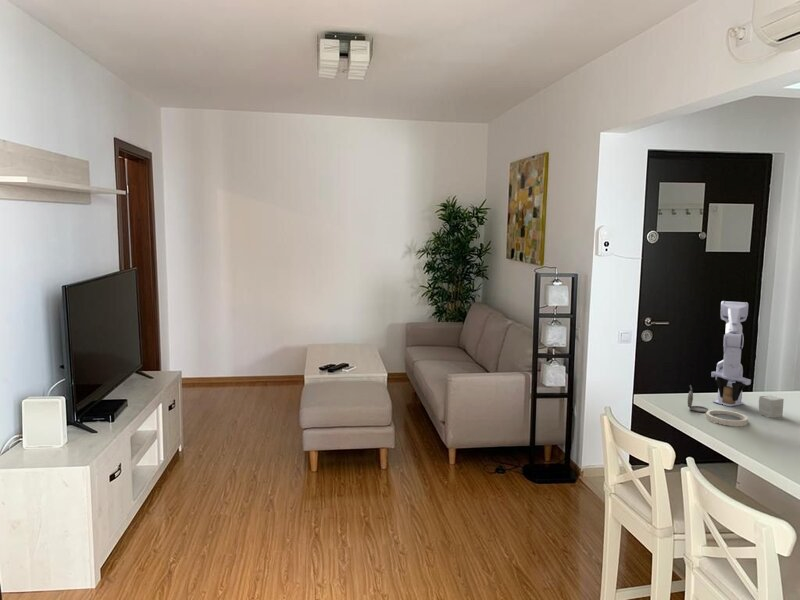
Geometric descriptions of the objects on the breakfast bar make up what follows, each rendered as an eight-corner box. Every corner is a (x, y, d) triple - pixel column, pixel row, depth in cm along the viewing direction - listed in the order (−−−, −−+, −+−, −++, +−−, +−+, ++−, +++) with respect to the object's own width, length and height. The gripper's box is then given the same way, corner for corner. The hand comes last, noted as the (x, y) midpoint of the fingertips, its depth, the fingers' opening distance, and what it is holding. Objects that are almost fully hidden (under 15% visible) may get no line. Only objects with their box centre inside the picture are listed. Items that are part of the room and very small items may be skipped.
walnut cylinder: (726, 400, 229) (728, 385, 229) (737, 403, 225) (739, 388, 225) (719, 401, 227) (721, 386, 227) (730, 404, 223) (732, 389, 223)
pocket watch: (711, 413, 236) (713, 389, 235) (690, 412, 236) (692, 388, 235) (701, 407, 244) (703, 383, 243) (681, 406, 244) (682, 383, 243)
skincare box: (782, 417, 232) (784, 398, 231) (770, 418, 230) (772, 400, 229) (769, 412, 238) (770, 394, 237) (757, 413, 236) (758, 395, 235)
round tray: (720, 412, 236) (720, 407, 236) (755, 422, 224) (755, 417, 224) (698, 417, 230) (698, 412, 230) (732, 428, 218) (733, 423, 217)
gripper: (707, 361, 229) (704, 395, 231) (743, 369, 216) (741, 405, 218) (718, 359, 232) (716, 393, 234) (755, 367, 220) (752, 402, 221)
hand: (728, 398), depth 226 cm, fingers closed on walnut cylinder, 4 cm apart
